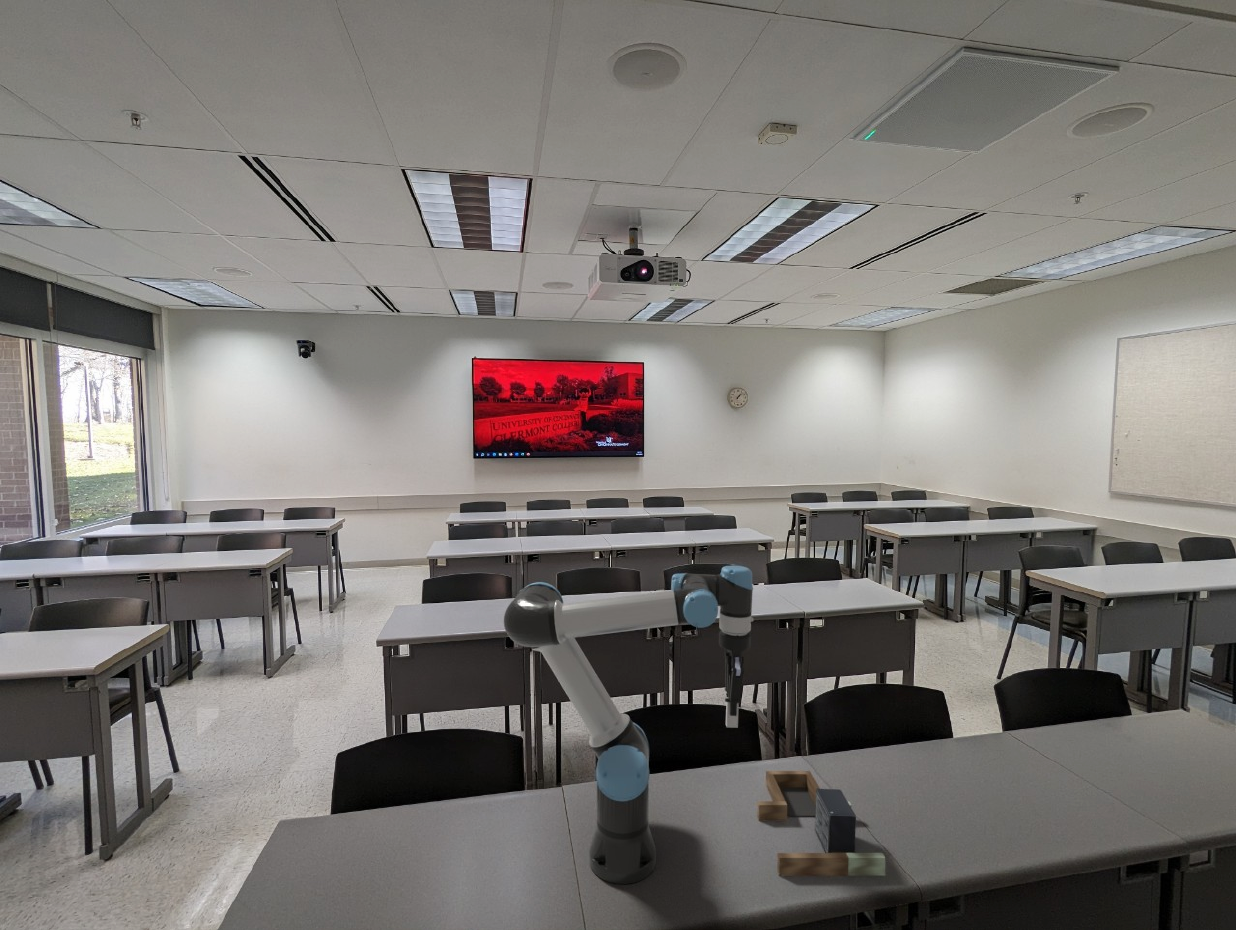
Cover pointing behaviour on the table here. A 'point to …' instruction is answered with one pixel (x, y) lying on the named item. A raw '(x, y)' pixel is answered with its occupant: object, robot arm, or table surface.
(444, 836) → the table surface
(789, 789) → the mat
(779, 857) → the wooden frame pieces
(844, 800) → the small box
